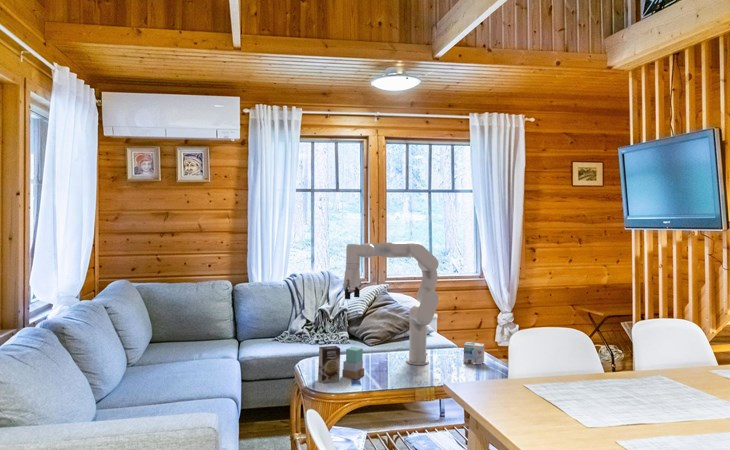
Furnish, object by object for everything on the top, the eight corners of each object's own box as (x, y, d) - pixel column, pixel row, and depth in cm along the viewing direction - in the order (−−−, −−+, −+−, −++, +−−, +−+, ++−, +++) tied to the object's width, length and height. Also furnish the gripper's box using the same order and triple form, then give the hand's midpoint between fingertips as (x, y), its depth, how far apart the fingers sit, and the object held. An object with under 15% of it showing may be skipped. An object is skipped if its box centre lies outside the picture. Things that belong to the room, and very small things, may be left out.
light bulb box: (463, 363, 274) (463, 344, 274) (465, 360, 280) (465, 341, 280) (482, 365, 270) (482, 346, 270) (484, 362, 276) (484, 343, 276)
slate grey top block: (350, 366, 249) (351, 358, 249) (362, 368, 245) (362, 360, 246) (343, 369, 243) (343, 361, 243) (355, 371, 239) (355, 363, 240)
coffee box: (321, 383, 232) (322, 349, 232) (317, 379, 238) (318, 346, 238) (339, 381, 235) (340, 348, 236) (335, 377, 241) (336, 345, 242)
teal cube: (352, 358, 249) (352, 346, 249) (362, 360, 246) (362, 348, 246) (345, 361, 243) (346, 349, 244) (356, 363, 240) (356, 350, 241)
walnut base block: (350, 373, 250) (350, 365, 250) (364, 376, 246) (364, 368, 246) (342, 377, 243) (342, 369, 243) (356, 380, 239) (356, 372, 239)
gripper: (355, 265, 274) (354, 296, 274) (338, 267, 259) (337, 299, 259) (366, 266, 271) (366, 297, 270) (350, 267, 256) (349, 300, 255)
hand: (352, 298), depth 265 cm, fingers open, 9 cm apart
